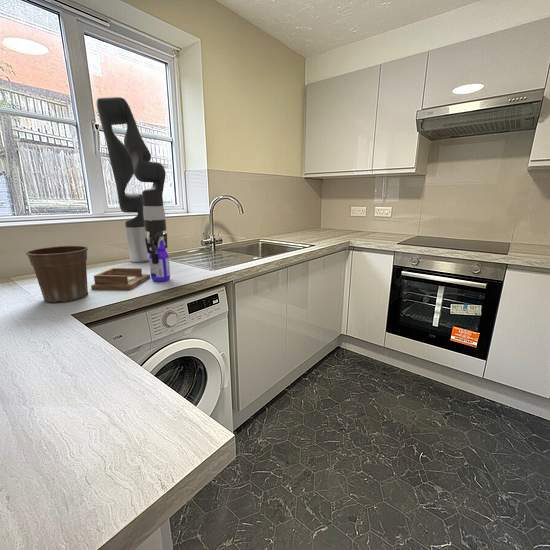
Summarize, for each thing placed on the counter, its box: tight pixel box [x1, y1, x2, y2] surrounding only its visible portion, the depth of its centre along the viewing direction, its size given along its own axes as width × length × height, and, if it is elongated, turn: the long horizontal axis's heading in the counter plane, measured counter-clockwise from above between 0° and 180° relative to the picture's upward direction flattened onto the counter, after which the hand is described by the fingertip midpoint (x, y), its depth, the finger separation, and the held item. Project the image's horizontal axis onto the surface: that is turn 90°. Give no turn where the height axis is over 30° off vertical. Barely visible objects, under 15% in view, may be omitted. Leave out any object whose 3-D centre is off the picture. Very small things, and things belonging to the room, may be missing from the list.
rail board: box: [90, 267, 151, 291], centre depth 113 cm, size 16×14×4 cm
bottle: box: [148, 237, 171, 283], centre depth 116 cm, size 7×6×17 cm
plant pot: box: [25, 245, 89, 304], centre depth 97 cm, size 16×16×16 cm
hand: (159, 261), depth 116 cm, fingers closed on bottle, 6 cm apart
